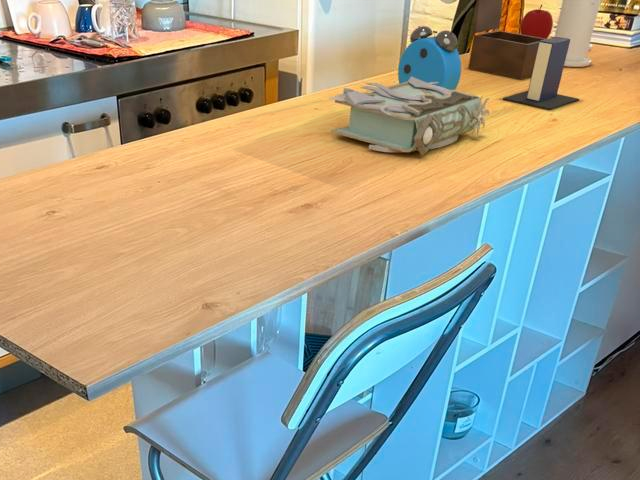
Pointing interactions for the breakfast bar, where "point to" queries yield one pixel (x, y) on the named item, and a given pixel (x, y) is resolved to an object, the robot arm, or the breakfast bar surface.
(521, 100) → the mat
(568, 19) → the robot arm
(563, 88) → the breakfast bar surface
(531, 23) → the apple
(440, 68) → the alarm clock
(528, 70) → the chest
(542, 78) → the book
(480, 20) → the lid
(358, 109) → the ornate book
